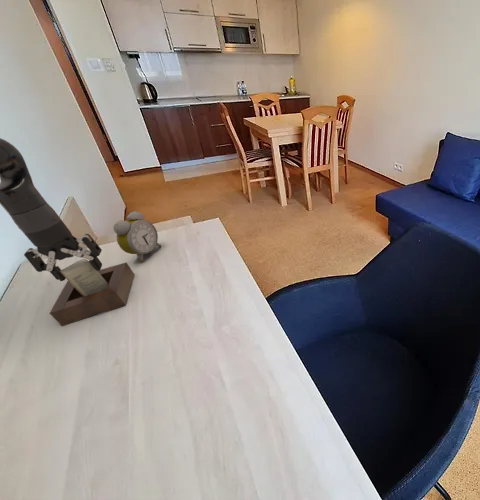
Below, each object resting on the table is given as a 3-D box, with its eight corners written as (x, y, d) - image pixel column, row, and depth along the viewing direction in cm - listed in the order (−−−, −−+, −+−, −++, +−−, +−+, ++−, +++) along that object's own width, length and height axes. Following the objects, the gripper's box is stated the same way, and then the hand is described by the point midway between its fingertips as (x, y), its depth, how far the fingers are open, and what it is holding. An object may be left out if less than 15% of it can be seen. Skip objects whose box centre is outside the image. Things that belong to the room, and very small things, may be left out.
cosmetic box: (109, 288, 92) (84, 257, 85) (116, 293, 90) (91, 260, 83) (86, 302, 88) (58, 270, 81) (93, 307, 86) (64, 275, 79)
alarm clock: (143, 264, 101) (119, 226, 92) (126, 264, 102) (100, 226, 94) (165, 244, 110) (145, 208, 101) (149, 244, 111) (128, 208, 103)
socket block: (61, 326, 81) (49, 313, 78) (79, 290, 93) (68, 278, 90) (125, 305, 85) (116, 292, 82) (134, 274, 97) (126, 262, 94)
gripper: (79, 209, 79) (113, 258, 88) (13, 225, 75) (56, 274, 85) (69, 222, 73) (107, 273, 82) (-3, 239, 69) (46, 291, 79)
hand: (81, 274), depth 83 cm, fingers open, 8 cm apart
